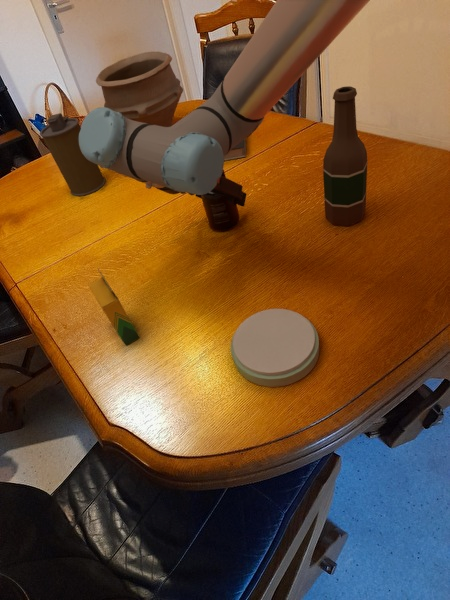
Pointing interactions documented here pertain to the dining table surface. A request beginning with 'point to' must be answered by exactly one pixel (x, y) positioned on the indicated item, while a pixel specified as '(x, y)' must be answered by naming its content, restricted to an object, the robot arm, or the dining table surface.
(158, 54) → the planter
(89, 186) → the canister
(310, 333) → the scale
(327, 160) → the beer bottle
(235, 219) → the supplement bottle
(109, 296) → the crayon box
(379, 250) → the dining table surface
